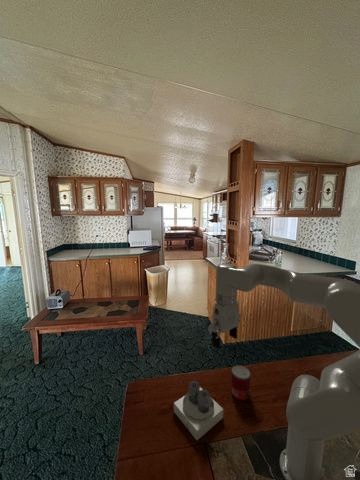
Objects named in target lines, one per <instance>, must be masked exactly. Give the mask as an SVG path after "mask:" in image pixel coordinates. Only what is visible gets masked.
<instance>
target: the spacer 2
mask: <svg viewBox="0 0 360 480" xmlns="http://www.w3.org/2000/svg"><path fill="white" fill-rule="evenodd" d="M210 396H211V395H210V391H208V390H207V389H203V390H200V391H199V393H198V410H199V411H200V412H201V413H207V412H208V411H209V401H210Z"/></svg>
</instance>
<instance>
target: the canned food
mask: <svg viewBox="0 0 360 480" xmlns="http://www.w3.org/2000/svg"><path fill="white" fill-rule="evenodd" d="M250 386H251V371H250V369H248V368H247V367H245V366H243V365H235V366H233V367H232V368H231V379H230V392H231V396H233V397H234V398H235V400H238V401H246V400H247V399H248V398H249V396H250Z"/></svg>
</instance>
